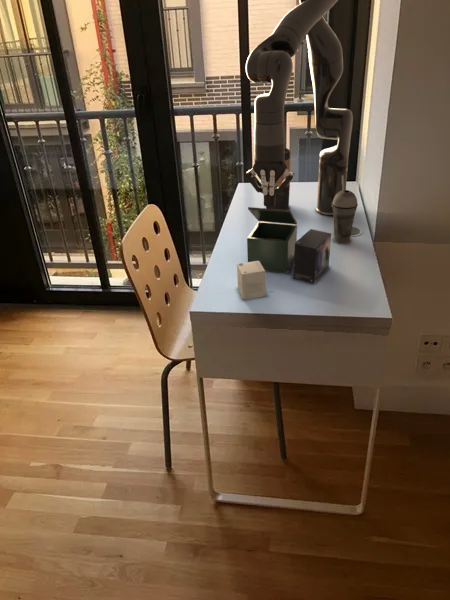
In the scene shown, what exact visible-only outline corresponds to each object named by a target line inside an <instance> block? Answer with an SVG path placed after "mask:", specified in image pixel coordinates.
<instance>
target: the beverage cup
mask: <svg viewBox="0 0 450 600" xmlns="http://www.w3.org/2000/svg"><path fill="white" fill-rule="evenodd" d="M358 204H359V203H358V198H357V196H356V194H355V193H354V192H353V191H351V190H348V189H346V190H344V176H342V191H340V192H338V193H337V194H336V195H335V197H334V199H333V203H332V205H333V212H334V215H333V239H334V242H335V243H337V244H340V245H341V244H342V245H344V244H348V243H349V242H350V241H351V237H352V231H353V227H354V222H355V221H354V220H355V216H356V215H355V214H356V211H357V208H358V206H359V205H358Z"/></svg>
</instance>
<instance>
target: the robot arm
mask: <svg viewBox="0 0 450 600" xmlns="http://www.w3.org/2000/svg"><path fill="white" fill-rule="evenodd" d="M338 1H339V0H299V4H297V5H295V6H294V7H293V8H292V9H290V10H289V11H288V12H286V14H285V15H284V16H283V17H282V18H281V20H280V21H279V22H278V24H277V26H276V27H275V28H274V30H273V32H272V33H271V34H270V35H269V36H267V37H266V38H264V39H263V40H262V41H261V42H260V43H259V44H257V46H256V47H254V48H253V49H252V50H251V52H250V54H249V55H248V57H247V60H246V63H245V73H246V76H247V78H248V79H249V81H251V82H252V83H255V84H265V85H271V89H270V91H269V93H263V94H260V95H257V97H256V98H255V99H254V128H253V155H254V157H253V160H254V163H252V168H251V169H248V171H246V173H244V177H245V178H246V179H247V181H248V182H249V183H250V184H251V186H252V187H253V188H254V189H253V190H255V191H256V192H257V193H261V194H262V195H263V206H264V207H265V208H267V209H272V208H273V207H274V206H275V204H276V194H280V193H281V192H282V190H283V189H284V188H285V187H286V186H287V185H288V183H289V182H290V183H291V181H292V180H293V178H294V177H295V173H294V172H293V171H292V172H291V171H290V172H289V171H288V170H287V166H286V164H285V148H286V127H285V103H286V98H287V93H288V89H289V86H290V82H291V78H292V75H293V69H294V67H293V66H294V65H293V64H294V63H293V57H294V56H295V55H296V53H297V52H298V51H299V49H300V47H301V46H302V45H303V43H304V41H305V39H306V44H307V49H308V50H307V53H308V63H309V70H310V77H311V82H312V91H313V99H314V100H313V101H314V125H315V131H316V135H317V137H318V138H320V139H325V140H334V141H337V142H336V143H337V144H336V145H334V146H331V147H327V148H324V149H322V150H321V151H320V152H319V157H318V177H317V198H316V200H317V201H316V212H317V213H319V214H320V215H324V216H325V215H326V216H334V212H333V205H332V203H333V199H334V197H335V195H336V194H337V193H338V192H340V191H342V176H344V190H347V181H348V167H349V157H350V155H349V154H350V148H351V140H352V139H351V138H352V131H353V122H354V116H353V112H352V110H351V109H348V108H333V107H330V106H329V98H330V96H331V94H332V92H333V91H334V89H335V88H336V86H337V84H338V82H340V79H341V77H342V75H343V73H344V57H343V47H342V43H341V41H340V40H339V38H338V36H337V35H336V33H335V32H334V31H333V29H332V28H331V27H330V25H329V24H328V22H327V21H326V19H325V17H324V16H325V15H326V14H327V13H328V12H329V11H330V10H331V9H332V8H333V6H334V5H336V3H338ZM283 173H284V179H285V180H284V181H283V183H282V184H281V185H280V186H279V187H277V181H278V180H279V178H280V177H281V176H282V175H283ZM269 183H270V185H269ZM276 187H277V188H276Z"/></svg>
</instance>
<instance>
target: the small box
mask: <svg viewBox="0 0 450 600" xmlns="http://www.w3.org/2000/svg"><path fill="white" fill-rule="evenodd" d="M331 243H332V233H331V232H327V231H323V230H317V229H313V228H310V229H309V230H308V231H307V232H306V233H305V234H303V235H302V236H300V237H299V239H297V242H296V243H294V260H293V271H292V272H293V274H292V279H293V280H298V281H301V282H305V283H309V284H315V283H316V282H317V280H319V279H320V278H321V276H322V275H324V273H325V272H326V271H327V270H328V269H329V267H330V255H331V254H330V253H331Z"/></svg>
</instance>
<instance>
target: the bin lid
mask: <svg viewBox="0 0 450 600" xmlns="http://www.w3.org/2000/svg"><path fill="white" fill-rule="evenodd" d="M247 211H249V212H250V214H252V216H253V217H254V218H255V219H256V221H257V222H271V223H283V224H294V225H298V221H297V219H296V218H295V216H294V215H293V213H292V211H291V210H290V209H287V210H280V209H267V208H266V207H255V206H254V207H253V206H248V207H247Z"/></svg>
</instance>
